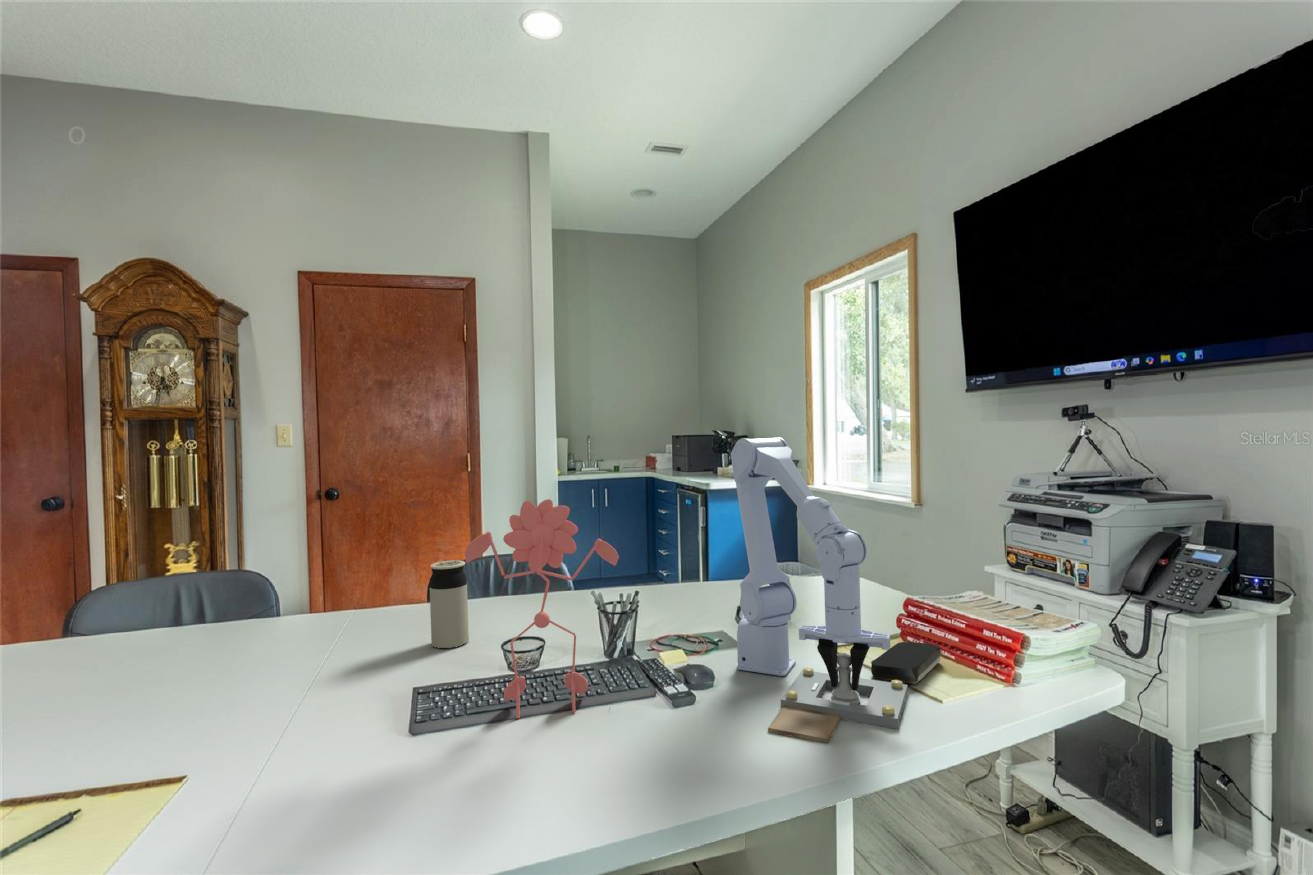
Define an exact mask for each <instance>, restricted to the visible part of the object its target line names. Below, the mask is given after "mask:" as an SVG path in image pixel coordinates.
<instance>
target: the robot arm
mask: <svg viewBox="0 0 1313 875" xmlns="http://www.w3.org/2000/svg"><path fill="white" fill-rule="evenodd" d="M730 459H731V466H732V470H733V477H734V482H735V485H736V493H737V500H738V504H739V505H738V506H739V512H740V518H741V523H742V530H743V535H744V536H743V538H744V541H745V542H744V543H745V550H746V554H747V561H748V566H749V567H748V568H749V572H748V574H747V575H746V576H745V577H744V579H742V581H741V582H740V583H739V586H740V587H739V588H740V599H739V607H740V610H741V613H742V615H743V617H744V618H742V619H740V621H739V622H738V625H737V632H736V633H737V634H736V643H737V644H736V645H737V649H736V650H737V666H736V669H737V670H740V671H745V672H753V673H760V674H765V675H772V676H777V677H779V676H781V677H785V676H787V674H788V673H789V672H790V670H791V669H792V668H793V667H794V665H795V664H796V660H795V659H791V658H790V652H789V651H790V649H789V648H790V645H789V621H791V619H792V617H791V615H792V614H794V612H796V609H797V605H798V604H797V596H796V592H795V591H794V589H793V587H792V585H791V581H790V576H789V575H788V574H786V573H785V572H784V571H783V570H781V569H780V568H779V567H778V566H779V565H778V560H777V556H776V555H777V554H776V549H775V542H774V539H773V532H772V525H771V520H770V519H771V518H770V515H769V508H768V503H767V497H766V490H765V488H766V487H767V485H768V483H769V481H771V480H772V479H773V478H774V480H775V481H776V482H777V484H778V485H780V487H781V488H782V489H783V491H784V492H785V494H786V495H787V496H788V497H789V498H790V499H791V501H792V502H793V503H794V504H795V505H796V507H797V510H796V518H797V519H798V521H799V523H800V524H801V525H802V527H803V528H804V530H806V533H807V535H808V536H810V538H811V540H812V541H813V542H814V544H815V546H816V549H814V554H815V559H816V561H817V562H818V564H819V567H820V575H821V576H822V578H823V586H824V592H823V593H824V618H825V623H824V624H825V625H801V626H799V628H798V640H802V641H806V640H811V641H818V645H817V647H816V648H817V653H818V654H819V655H820V657H821V659H822V662H823V663H824V665H825V667H826V671H827V672H828V673H827V674H829V677H830V681H831V686H832V687H836V686H837V684H838V675H839V672H838V671H837V670H836V667H837V666H838V663H837V660H836V658H837V656H838V645H839V644H845V645H852V646H851V648H850V650H849V655H850V656H851V667H852V672H851V677H852V690H857V689H858V687H859V678H861V677H860V676H861V673H862V672H861V671H862V668H863V666H864V662H865V659H866V657H867V654H868V652H869V650H870V649H871V647H872V648H877V649H879V648H880V649H881V650H884V651H887V650H889V649H890V648H891V634H887V633H879V632H875V631H870V630H866V629H862V614H861V580H860V576H861V575H860V565H861V564H862V563H864V561H865V559H866V557H867V551H868V550H867V545H866V542H865V540H864V539H863V536H862V535H861V533H859V532H857V531H856V530H852V529H850V528H849V527H848V526H846V525H844V523H843V522H842V521H841V520H840V518H839V517H838V516H837V514H836V513H835V511H834V510H833V509H832V507H831V504H830V502H829V501H828V499H827V500H826V499H825V498H823V497H820V496H814V494H813V492H812V491H811V489H810V487H809V486H808V484H807V482H806V481H805V479H804V476H802V474H801V472H800V471H799V469H798V467H797V466H796V465H795V462H794V461H793V450H792V448H790V447H789V444H788V443H787V441H786V440H785V439H784V438H782V437H779V436H774V437H765V438H764V437H763V438H746V437H745V438H739V439H738V440H737V441H736V443H735V445H734V446H733V448H732V450H731V452H730ZM769 584H770V585H769ZM764 585H766V586H764Z"/></svg>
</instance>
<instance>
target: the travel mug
mask: <svg viewBox="0 0 1313 875" xmlns="http://www.w3.org/2000/svg"><path fill="white" fill-rule="evenodd" d="M465 564H466V561H464V560H444V561H437V562H433V563H432V564H430V566H429V567H430V569H431V573H432V574H431V576H430V578H429V604H430V605H429V608H430V609H429V610H430V633H431V634H430V636H431V638H430V639H431V647H433V646H434V648H436V647H437V648H436V649H439V648H450V649H452V648H451V647H456V646H459V647H462V646H464V645H465V644H466V643H468V642H469V641H470V637H469V636H470V635H469V633H470V630H469V606H468V605H469V602H468V576H467V574H466V573H465V572H464V568H465ZM463 644H464V645H463ZM461 645H462V646H461ZM456 648H457V647H456Z"/></svg>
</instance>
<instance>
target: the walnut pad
mask: <svg viewBox="0 0 1313 875" xmlns="http://www.w3.org/2000/svg"><path fill="white" fill-rule="evenodd" d="M840 720H841V719H840V715H837V714H831V713H825V712H819V711H813V710H807V709H801V708H795V707H790V706H783V707H782V708H781V707H780V710H779V712H778V713H777V714H776V715H775V717H774V718H773V720H772V721H771V722H770V724H769V726H768V727H767V732H769V733H773V734H778V735H783V736H789V737H794V738H799V739H805V740H810V741H814V742H815V741H816V742H820V743H825V744H829V742H830V740H831V738H832V736H833V734H834V732H835V730H836V728H837V726H838V724H839V722H840Z"/></svg>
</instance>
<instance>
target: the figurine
mask: <svg viewBox="0 0 1313 875" xmlns="http://www.w3.org/2000/svg"><path fill="white" fill-rule="evenodd" d="M570 511H571V509H570V507H569V506H567V505H557V506H554V503H553V500H552V499H550V498H548V499H544V500H542V501H541V502H540V503H538V505H537V506H536V505H535V503H534V502H532V501H530V500H528V499H527V500H525V501H523V502H522V504H521V507H520V513H519V515H518V514H512V515H510V516H509V521H508V522H509V525H510V528H511V530H512V531H509V532H507V533H506V534H505V535H504V536H503V542H504V543H505V544H506V546H508V547H510V548H512V549H514V550H513V552H512V556H511V557H512V561H514V562H516V563H525V562H528V563H527V566H528V569H529V570H528V571H522V572H516V573H513V574H512V573H511V574H506V573H505V570H504V568H503V565H502V563H501V562H502V561H501V559H500V557H499V554H498V551H497V549H496V546H495V543H494V541H493V537H492V532H491V531H486V532H485V533H483V534H480V535H478V536H477V537H475V538H474V539H473V540H471V542H470V543H468V545H467V546H466V548H465V551H464V559H465V564H468V563H470V562H472V561H474V560H475V559H477V558H479V557H481V556H482V555H483V554H484V553H485V552H487V551H488V549H489V548H490V547H491V549H492V552H493V554H494V557H495V560H496V562H497V566H498V567H499V572H500V573H501V574H500V575H501V576H503V580H504V579H510V578H516V577H521V576H526V575H527V576H528V575H531V574H536V575H538V576H540V577H541V578H542V579H543V580H544V581H545V582H546V584H545V589H544V592H543V593H544V594H543V599H542V604H541V608H540V611H539V612H537V613H536V614H535V616H534V618H533V621H534V622H532V623H531V624H530V625H529V626H528V627H526V628H525V629H523V631H521V633H519V634H518V635H517V636H515V638H513V639H512V640H511V641H510V644H509V645H510V652H511V656H512V664H513V665H512V666H513V670H514V671H513V672H514V677H515V678H513V679H512V680H511V681H510V682H509V684H508V685H507V686H506V687H505V691H504V690H503V691H504V692H503V698H504V700H505V702H506V701H508V700H513V699H515V698H516V700H515V703H516V705H515V708H516V719H520V716H521V710H520V708H521V704H520V702H521V700H520V699H521V697H520V696H521V695H522V694H523V692H525V689H526V686H527V685H526V684H527V682H526V678H525V676H522V675H520V676H518V671H517V665H516V664H517V662H516V658H515V657H516V656H515V648H514V642H515V641H516V640H517V639H519V638H520V637H521V636H523V634H525V633H526V632H527V631H529V630H530V629H531V628H532V627H534V626H536V627H537V628H538V629H545V628H547V627H548V626H549V624H551V625H552V626H553V625H554V626H555V627H558V628H559V629H561V630H563V631H565V632H567V633H569V634H571V635H573V649H572V667H571V668H572V669H571V672H568V673H565V675H564V680H563V681H564V682H563V683H564V685H565V687H566V689H567V690H569V691H570V693H571V711H572V713H573V714H574V713H577V712H576V711H577V710H576V695H578V694H583V693H585V695H586V694H587V693H586V692H587V691H588V689H589V682H588V680H587V679H586V677H585V676H583V675H582V674H580V673H579V672H576V671H575V668H576V667H575V663H576V649H577V648H576V644H577V634H576V633H575V632H573V631H571V630H569V629H567V628H566V627H564V626H562V625H560V624H558V623H556V622H554V621H553V620H551V618H550V615H549V614H548V612H546V611H544V608H545V606H546V605H545V604H546V600H547V596H548V592H549V590H550V589H549V588H550V585H551V583H550V581H551V580H550V579H549V578H548V577H547V576H551V577H555V578H559V579H563V580H567V581H570V582H574V580H575V579H576V577H577V576H578V575H579V573H580V571H581V570H582V569H583V567H584V566H585V565H586V563H587V562H588V561H589V559H590V557H592V555H593V553H594V552H596V554H597V555H598V556H600V558H602V559H603V560H604V561H606V562H607V563H609V564H611V565H613V566H616V565H617V564H618V561H619V558H620V556H619V554H618V552H617V550H616V548H614V547H613V546H612V545H611V544H609V543H608V542H607V541H604V540H602V539H601V538H597V539H596V540H595V541H594V545H593V547H591V549H590V551H589V553H587V555H586V557H585V558H584V559H583V561H582V562H581V564H580V565H579V566H578V568H577V570H576V571H575V573H574V574H573V575H572V576H569V575H567V576H566V575H564V574H559V573H555V572H551V571H547V570H544V569H543V568H544V567H545V566H546V565H547V564H548V565H549V566H550V567H552V568H554V569H557V568H558V569H559V568H560V567H561V566H562V562H563V559H564V554H566V555H567V554H568V555H572V554H574V553H576V552H577V544H576V542H575V540H574V539H573V537H572V536H574V535H575V534H577V533H578V531H579V527H578V526H577V525H576V524H575V523H574V522H572V521H571V520H567V519H568V518H569V516H570ZM577 693H578V694H577ZM610 709H611V708H609V709H608V710H610Z"/></svg>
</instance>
